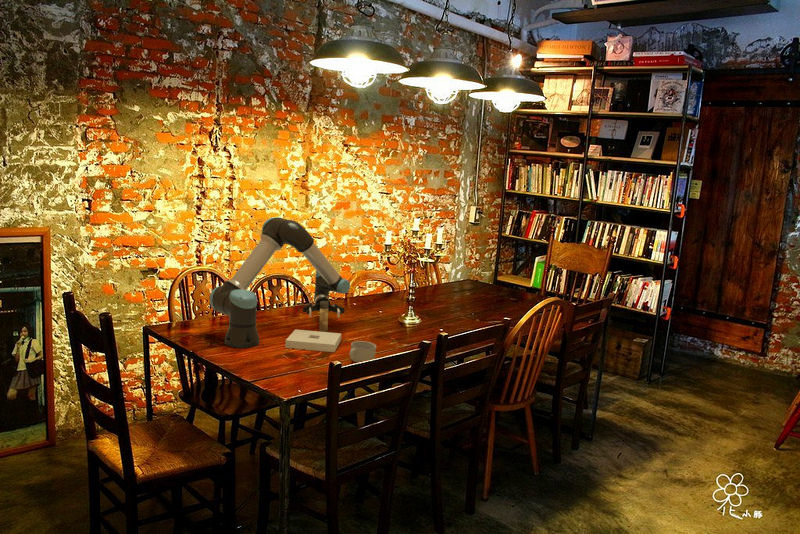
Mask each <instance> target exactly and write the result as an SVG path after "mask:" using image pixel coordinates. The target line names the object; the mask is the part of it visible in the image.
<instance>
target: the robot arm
mask: <svg viewBox="0 0 800 534" xmlns="http://www.w3.org/2000/svg"><path fill="white" fill-rule="evenodd" d="M261 229H262V230H261V234H259V235H260V236H259V237H260V241H259V242H258V243H257V244H256V246H255V247H254V248H253V250H252V251H251V252H250V254H249V255H248V256H247V257H246V258H245V260H244V261H243V262H242V265H240V267H239V268H238V270H237V271H236V272H235V274H234V275H233V276H232V277H231V279H227V280H225V281H224V282H223V284H221V285H220V286H219V285H218V286H216V287H215V288H213V289H212V290H211V292H210V294H209V304H210V306H211V308H212V310H213V311H216V312H218V313H219V314H223V315H225V316H228V318H229V321H228V322H229V325H228V329H227V332H226V333H225V335H224V336H225V338H224V345H226V346H228V347H230V348H237V349H246V348H248V349H249V348H253V347H257V346H259V345H260V335H259V332H258V329H257V306H258V305H257V304H258V300H257V295H256V293H254V291H251V290H248V289H249V287H250V286H251V285H252V283H253V282H254V281H255V279H256V278H257V276H258V275H259V274H260V273H261V271H262V270H263V268H264V267H265V266H266V264H267V263H268V262H269V260H270V259H271V257H272V256H273V255H274V253H275V252H276V251H280V250H282V248H283V246H285V245H288V246H290V247H292V248H294V249H295V250H296V252H298V253H300V254H302V255H303V256H304V257H305V259H306V260H307V261H308V262H309V263H310V264H311V266H312V267H313V268H314V270H316V271H315V276H314V279H315V281H314V282H315V283H314V284H315V285H314V296H313V300H314V304H313V303H312V302H310V303H309V304H306V305H305V306H302V313H306V315H309V316H308V317H309V318H311V317H312V312H319V313H320V301H328V313H329V312H333V313H336V314H337V315H336V316H337V318H340V317H341V315H342V314H345V311H346V309H345V307H342V306H341V305H338V304H337V303H335V304H332V303H331V302H330V291H331V292H334V293H337V294H343V295H344V294H347V293H348V292H349V290H350V289H351V288H350V287H351V283H350V281H349V280H348V279H346V278H343V277H342V275H341V274H340V273H339V272H338V270H336V269H335V267H334V265H332V263H331V262H330V261H329V260H328V258H327V257H326V256H325V254H324V253H323V252H322V251H321V250H320V249H319V247H318V246H317V244H316V243H315V239H314V237H312V235H311V234H310V233H309V231H307V230H306V228H305V227H304V226H303V225H302V224H301V223H299V222H298V221H296V220H293V219H287V218H282V217H275V216H274V217H270V218H268V219H266V220H265V221H264V223H263V224H262V227H261Z"/></svg>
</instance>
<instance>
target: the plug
mask: <svg viewBox="0 0 800 534" xmlns="http://www.w3.org/2000/svg"><path fill="white" fill-rule="evenodd" d="M318 322H319V324H318V325H319V326H318V328H319V329H318V332H329V331H328V330H329V329H328V326H329V325H328V324H329V311H328V301H320V312H319V321H318Z"/></svg>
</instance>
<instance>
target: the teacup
mask: <svg viewBox="0 0 800 534" xmlns="http://www.w3.org/2000/svg"><path fill="white" fill-rule="evenodd" d="M350 345H351V346H350V350H349V357H350V359H351V360H352V361H353V362H354V363H355V362H360V361H366V360H371V359H374V360H375V358H376V357H375V356H376V352H377V351H376V350H377V345H376V344H375V343H373V342H369V341H366V340H365V341H364V340H355V341H352V342H351V344H350Z"/></svg>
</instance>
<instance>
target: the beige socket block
mask: <svg viewBox="0 0 800 534" xmlns="http://www.w3.org/2000/svg"><path fill="white" fill-rule="evenodd" d="M341 341H342V333H340V332H339V333H338V332H329V331H327V332H319V330H318V331H316V330H315V331H314V330H306V329H294V330H293V331H292V333H291V334H290V335H289V336H288V337H287V338H286V339H285V347H284V348H286V349H292V348H294V349H296V350H303V349H305V350H304V351H307V350H308V351H315V352H317V351H318V352H325V353H335V352H336V351H337V348H338V346H339V345H340V343H341Z"/></svg>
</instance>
